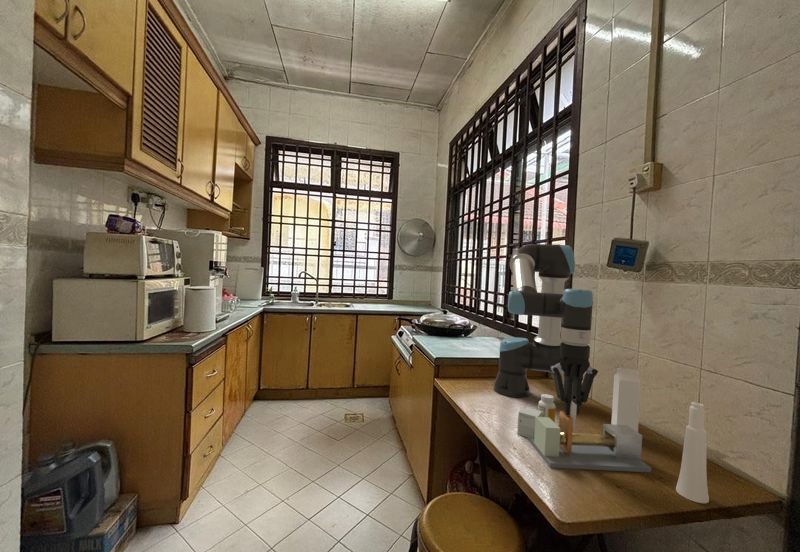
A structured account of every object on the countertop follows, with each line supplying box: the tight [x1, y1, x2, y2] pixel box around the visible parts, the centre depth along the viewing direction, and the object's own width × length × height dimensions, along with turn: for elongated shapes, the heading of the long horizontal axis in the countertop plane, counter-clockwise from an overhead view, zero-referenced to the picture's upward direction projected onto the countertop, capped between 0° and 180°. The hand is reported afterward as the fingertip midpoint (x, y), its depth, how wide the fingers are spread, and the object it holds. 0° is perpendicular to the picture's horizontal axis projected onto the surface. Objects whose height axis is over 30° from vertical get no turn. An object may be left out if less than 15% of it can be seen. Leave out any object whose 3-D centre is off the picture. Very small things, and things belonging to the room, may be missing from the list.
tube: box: [558, 410, 614, 454], centre depth 96 cm, size 5×20×10 cm, turn 91°
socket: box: [534, 417, 561, 457], centre depth 96 cm, size 7×4×8 cm, turn 1°
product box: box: [516, 406, 542, 439], centre depth 108 cm, size 6×6×7 cm
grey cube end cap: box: [602, 423, 643, 460], centre depth 96 cm, size 6×7×7 cm
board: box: [528, 437, 652, 473], centre depth 96 cm, size 14×27×1 cm, turn 91°
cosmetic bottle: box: [675, 401, 710, 504], centre depth 80 cm, size 6×6×22 cm
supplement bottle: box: [537, 393, 557, 424], centre depth 116 cm, size 5×5×10 cm
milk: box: [610, 367, 642, 433], centre depth 111 cm, size 6×6×22 cm
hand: (570, 425), depth 96 cm, fingers closed
